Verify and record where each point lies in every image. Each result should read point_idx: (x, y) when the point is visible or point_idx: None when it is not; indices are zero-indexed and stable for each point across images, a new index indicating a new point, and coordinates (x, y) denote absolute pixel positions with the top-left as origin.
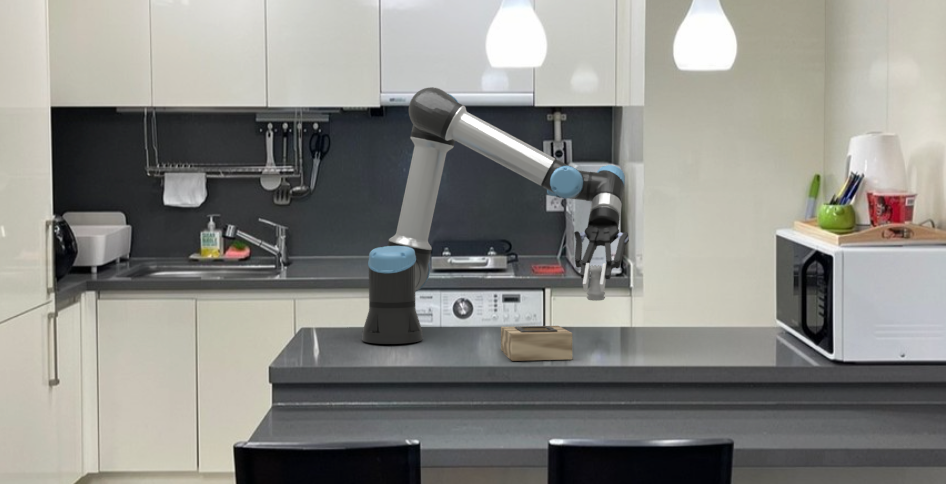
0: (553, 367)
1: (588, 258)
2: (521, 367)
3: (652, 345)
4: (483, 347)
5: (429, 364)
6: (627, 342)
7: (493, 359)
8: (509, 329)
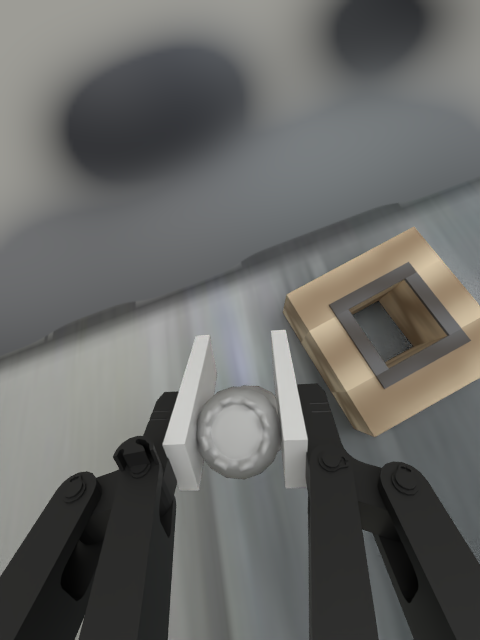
0: (297, 246)
1: (310, 515)
2: (350, 226)
3: None
4: None
5: None
6: (204, 578)
7: None
8: (465, 306)
